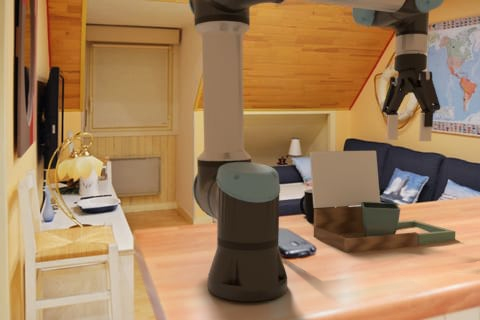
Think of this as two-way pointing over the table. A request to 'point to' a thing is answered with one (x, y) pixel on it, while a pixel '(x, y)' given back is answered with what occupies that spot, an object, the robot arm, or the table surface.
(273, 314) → the table surface
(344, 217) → the brown wooden box
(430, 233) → the potting tray
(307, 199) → the mug
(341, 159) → the lid
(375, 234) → the flower pot
